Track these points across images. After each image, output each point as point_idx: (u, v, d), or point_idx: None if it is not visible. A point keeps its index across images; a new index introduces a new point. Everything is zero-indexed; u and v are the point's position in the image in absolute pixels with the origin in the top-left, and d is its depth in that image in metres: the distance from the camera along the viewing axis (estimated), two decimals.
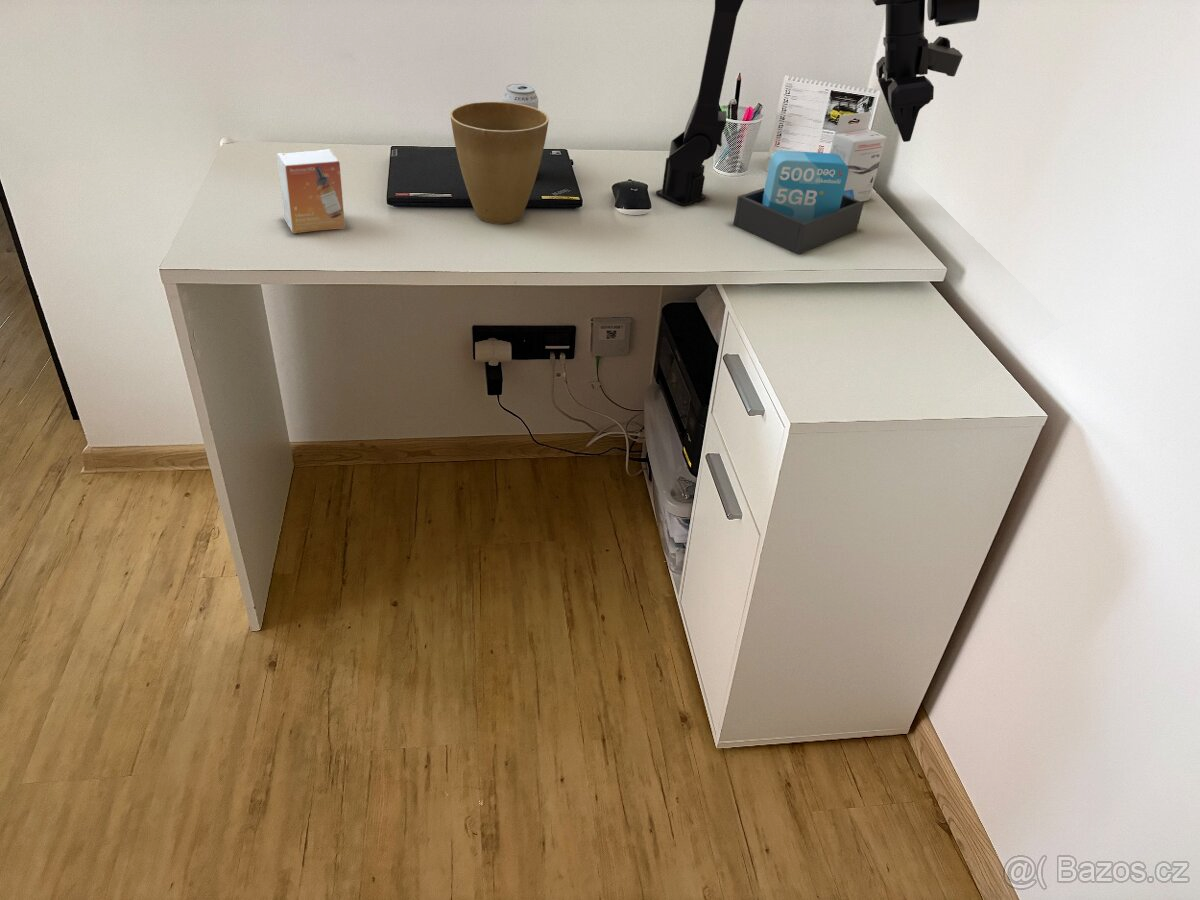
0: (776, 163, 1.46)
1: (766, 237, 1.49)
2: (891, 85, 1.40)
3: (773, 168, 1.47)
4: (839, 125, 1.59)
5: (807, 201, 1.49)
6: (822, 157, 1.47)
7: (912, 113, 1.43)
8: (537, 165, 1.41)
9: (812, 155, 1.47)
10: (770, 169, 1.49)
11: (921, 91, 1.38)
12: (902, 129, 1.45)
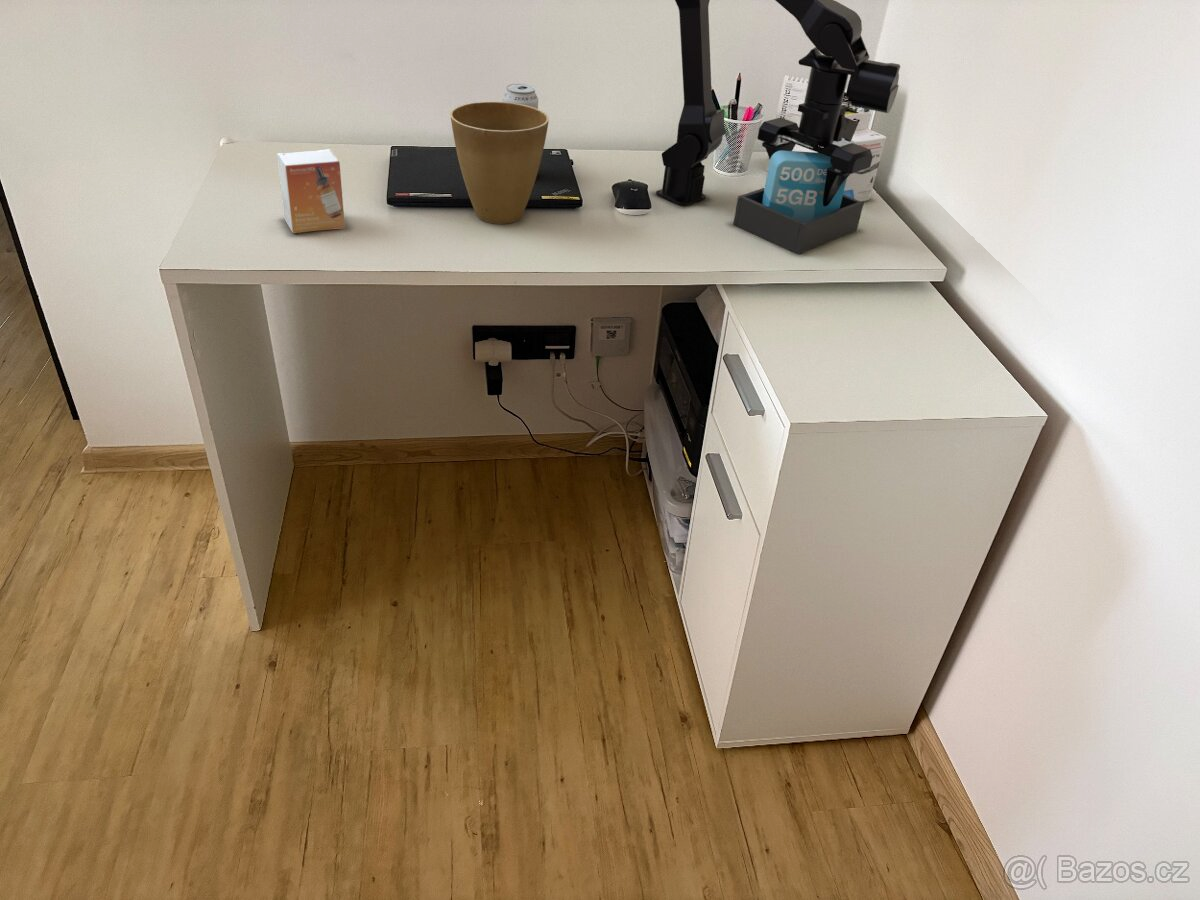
0: (776, 163, 1.46)
1: (766, 237, 1.49)
2: (838, 153, 1.40)
3: (773, 168, 1.47)
4: None
5: (807, 202, 1.49)
6: (822, 157, 1.47)
7: (841, 179, 1.45)
8: (537, 165, 1.41)
9: (811, 155, 1.47)
10: (770, 169, 1.49)
11: (868, 159, 1.41)
12: (830, 195, 1.46)
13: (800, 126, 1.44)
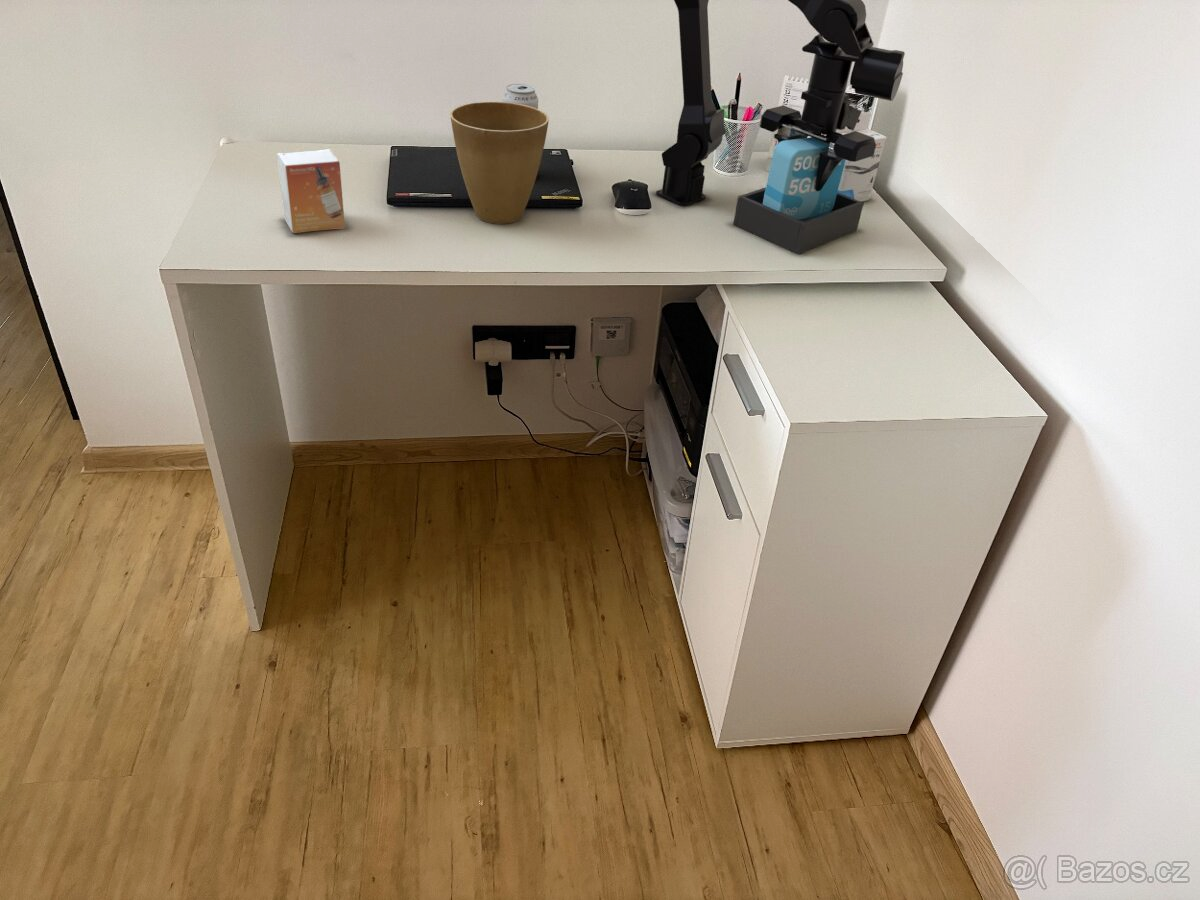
0: (788, 155, 1.42)
1: (766, 237, 1.49)
2: (841, 141, 1.39)
3: (785, 160, 1.43)
4: None
5: (814, 188, 1.48)
6: (822, 141, 1.46)
7: (833, 163, 1.45)
8: (537, 165, 1.41)
9: (812, 141, 1.46)
10: (777, 161, 1.45)
11: (871, 147, 1.40)
12: (822, 179, 1.46)
13: (803, 114, 1.43)
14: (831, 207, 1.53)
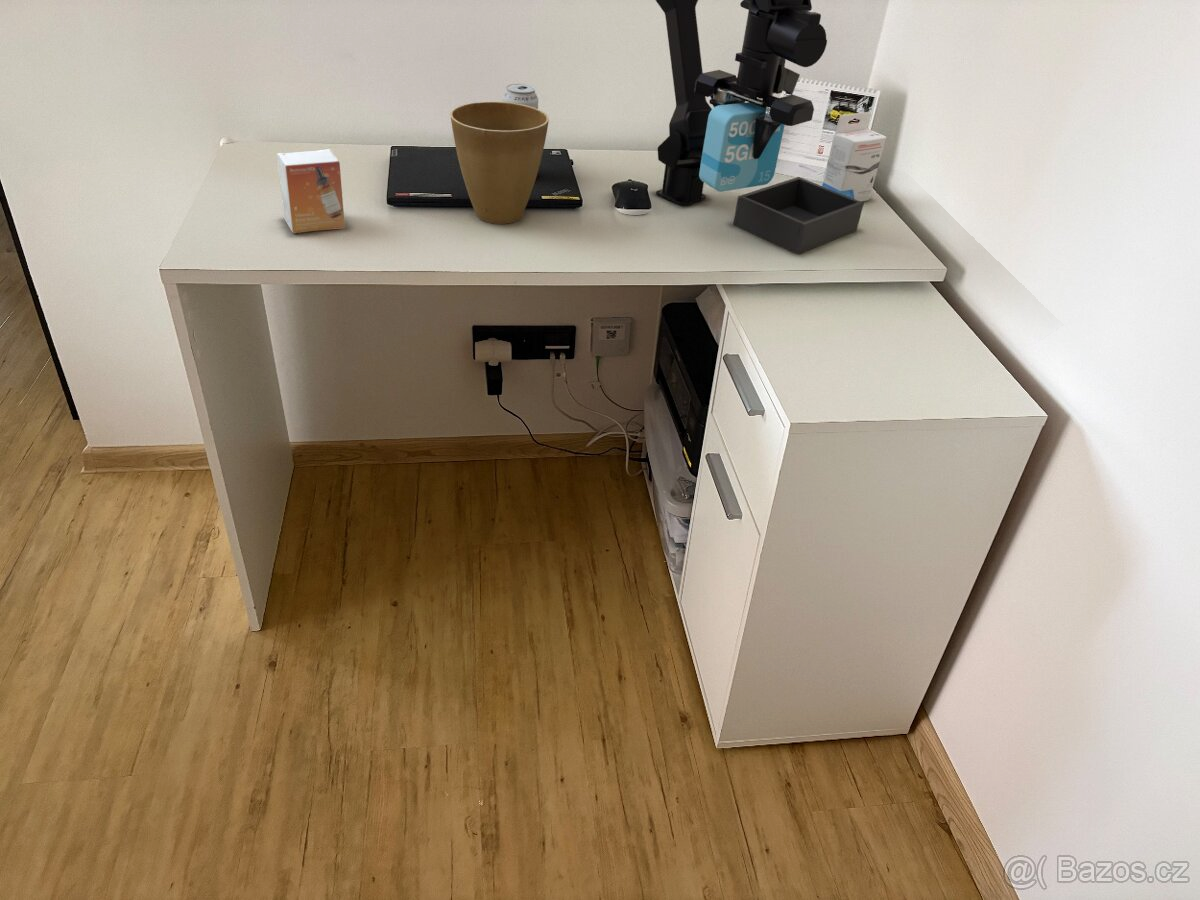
0: (723, 120, 1.36)
1: (766, 237, 1.49)
2: (777, 105, 1.33)
3: (720, 126, 1.37)
4: (839, 125, 1.59)
5: (752, 155, 1.42)
6: (759, 106, 1.40)
7: (771, 129, 1.39)
8: (537, 165, 1.41)
9: (749, 106, 1.39)
10: (712, 127, 1.38)
11: (809, 111, 1.34)
12: (760, 146, 1.40)
13: (738, 77, 1.36)
14: (771, 176, 1.46)
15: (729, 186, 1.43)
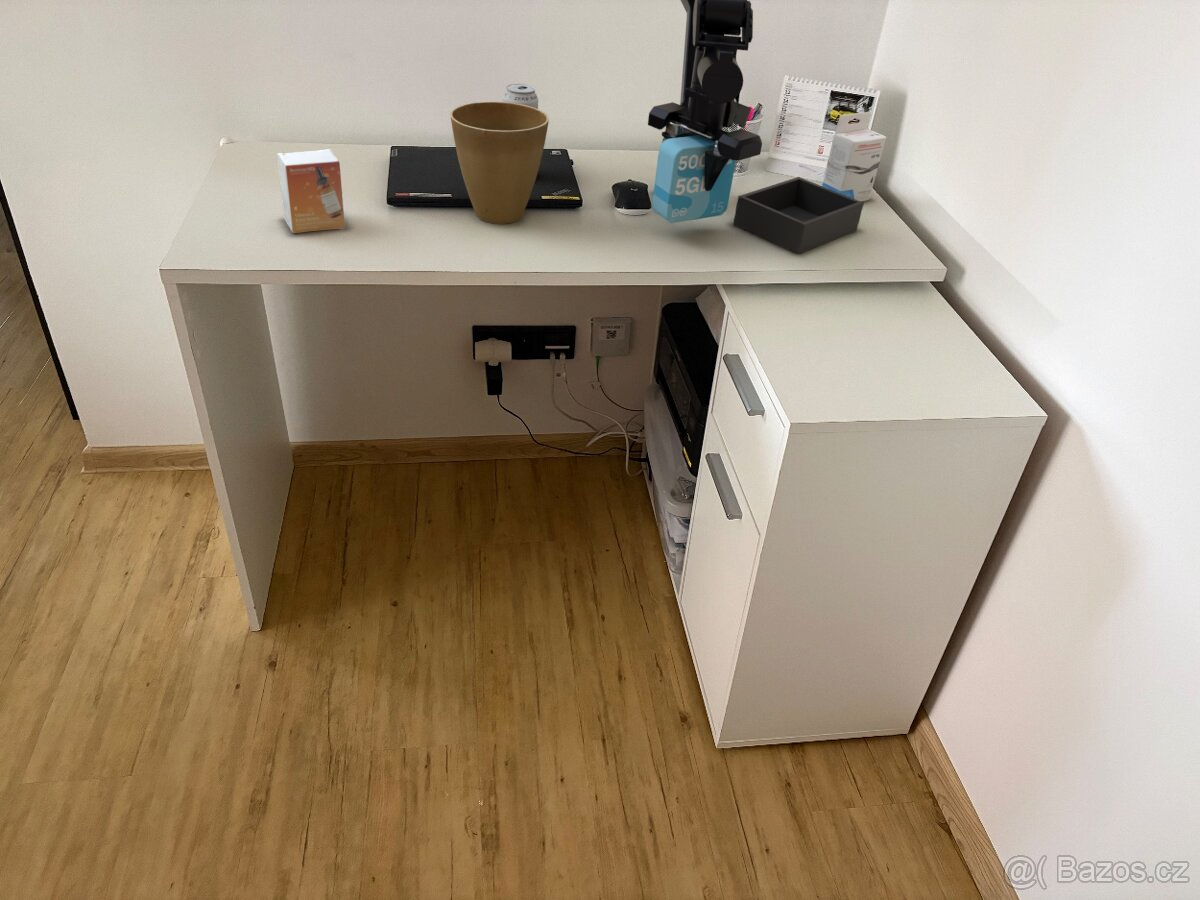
0: (672, 154, 1.37)
1: (766, 237, 1.49)
2: (724, 139, 1.34)
3: (669, 159, 1.38)
4: (839, 125, 1.59)
5: (703, 187, 1.43)
6: None
7: (721, 162, 1.40)
8: (537, 165, 1.41)
9: (700, 139, 1.40)
10: (662, 160, 1.40)
11: (756, 145, 1.35)
12: (711, 179, 1.41)
13: (688, 111, 1.37)
14: (725, 207, 1.47)
15: (681, 217, 1.44)
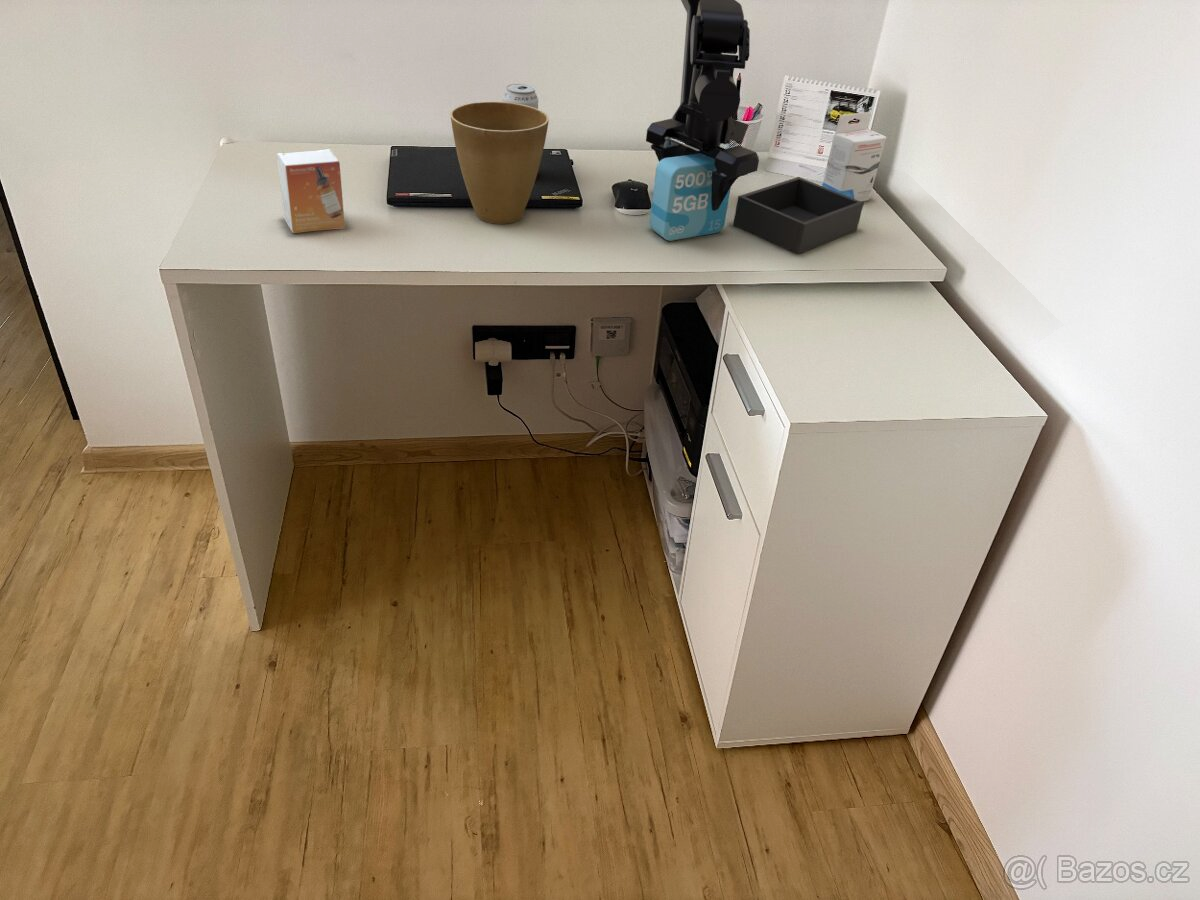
0: (669, 173, 1.39)
1: (766, 237, 1.49)
2: (722, 156, 1.35)
3: (666, 178, 1.40)
4: (839, 125, 1.59)
5: (700, 205, 1.45)
6: (706, 158, 1.43)
7: (728, 183, 1.40)
8: (537, 165, 1.41)
9: (696, 158, 1.42)
10: (659, 179, 1.41)
11: (753, 162, 1.36)
12: (717, 199, 1.41)
13: (685, 128, 1.39)
14: (722, 225, 1.49)
15: (678, 235, 1.46)
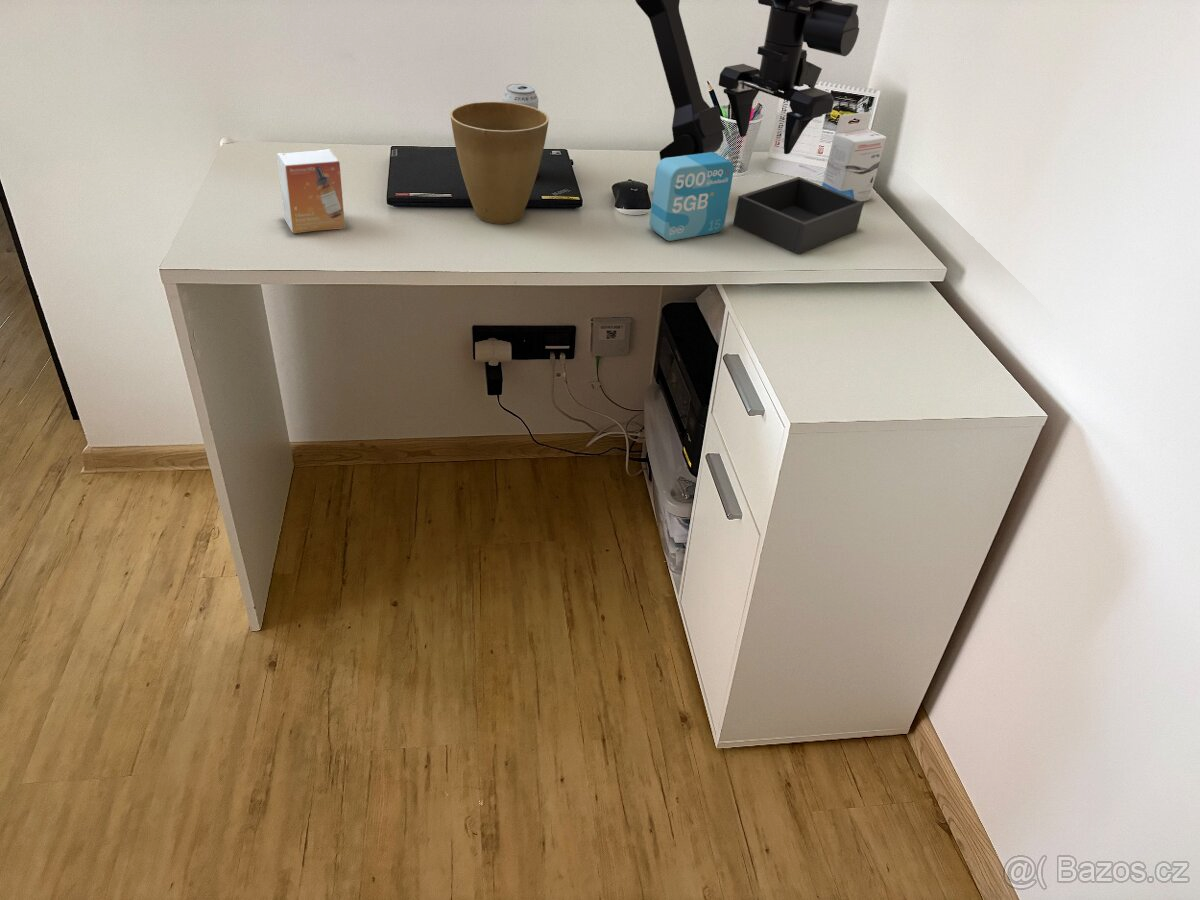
0: (669, 173, 1.39)
1: (766, 237, 1.49)
2: (797, 96, 1.36)
3: (666, 178, 1.40)
4: (839, 125, 1.59)
5: (700, 205, 1.45)
6: (706, 158, 1.43)
7: (801, 125, 1.41)
8: (537, 165, 1.41)
9: (696, 158, 1.42)
10: (659, 179, 1.41)
11: (828, 103, 1.37)
12: (790, 141, 1.42)
13: (760, 70, 1.40)
14: (722, 225, 1.49)
15: (678, 235, 1.46)
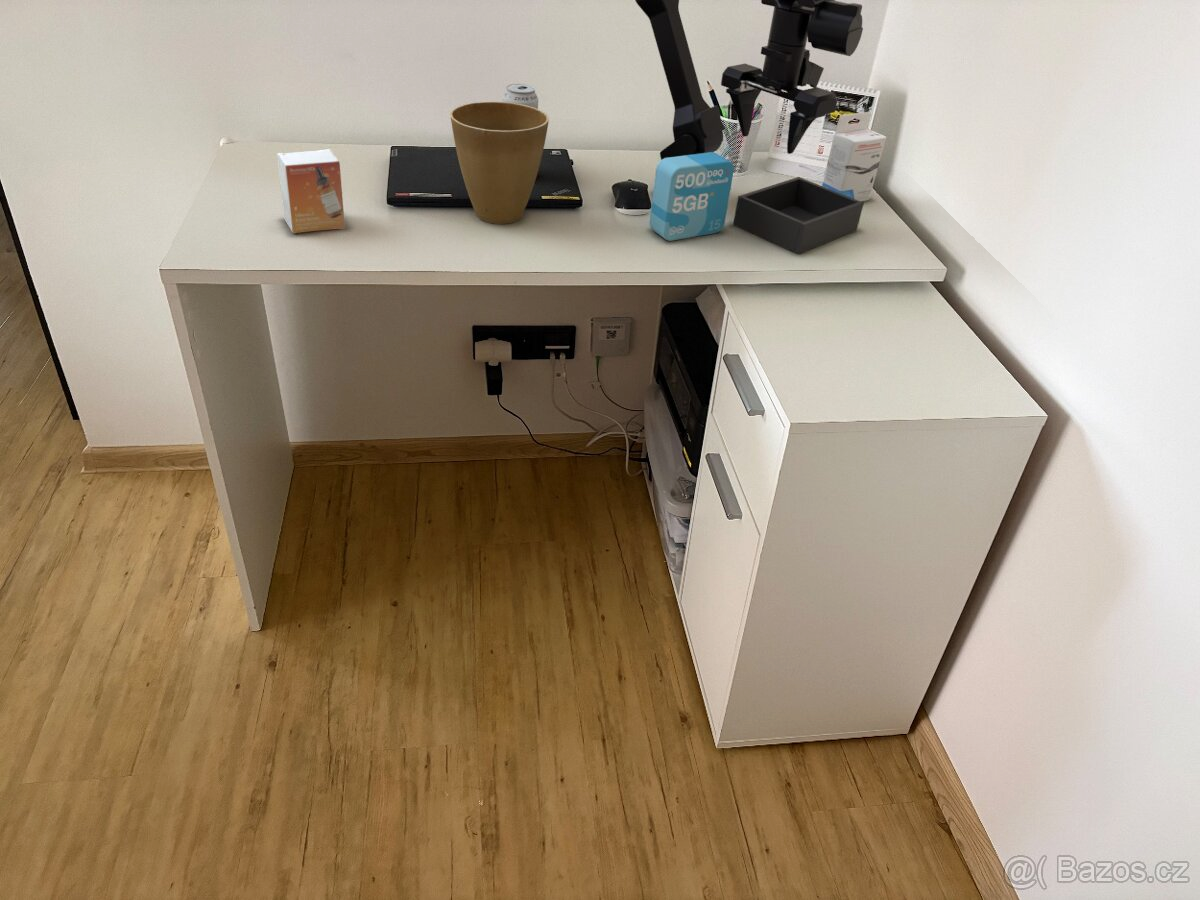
0: (669, 173, 1.39)
1: (766, 237, 1.49)
2: (801, 96, 1.37)
3: (666, 178, 1.40)
4: (839, 125, 1.59)
5: (700, 205, 1.45)
6: (706, 158, 1.43)
7: (805, 125, 1.42)
8: (537, 165, 1.41)
9: (696, 158, 1.42)
10: (659, 179, 1.41)
11: (832, 103, 1.38)
12: (794, 141, 1.43)
13: (763, 70, 1.40)
14: (722, 225, 1.49)
15: (678, 235, 1.46)
